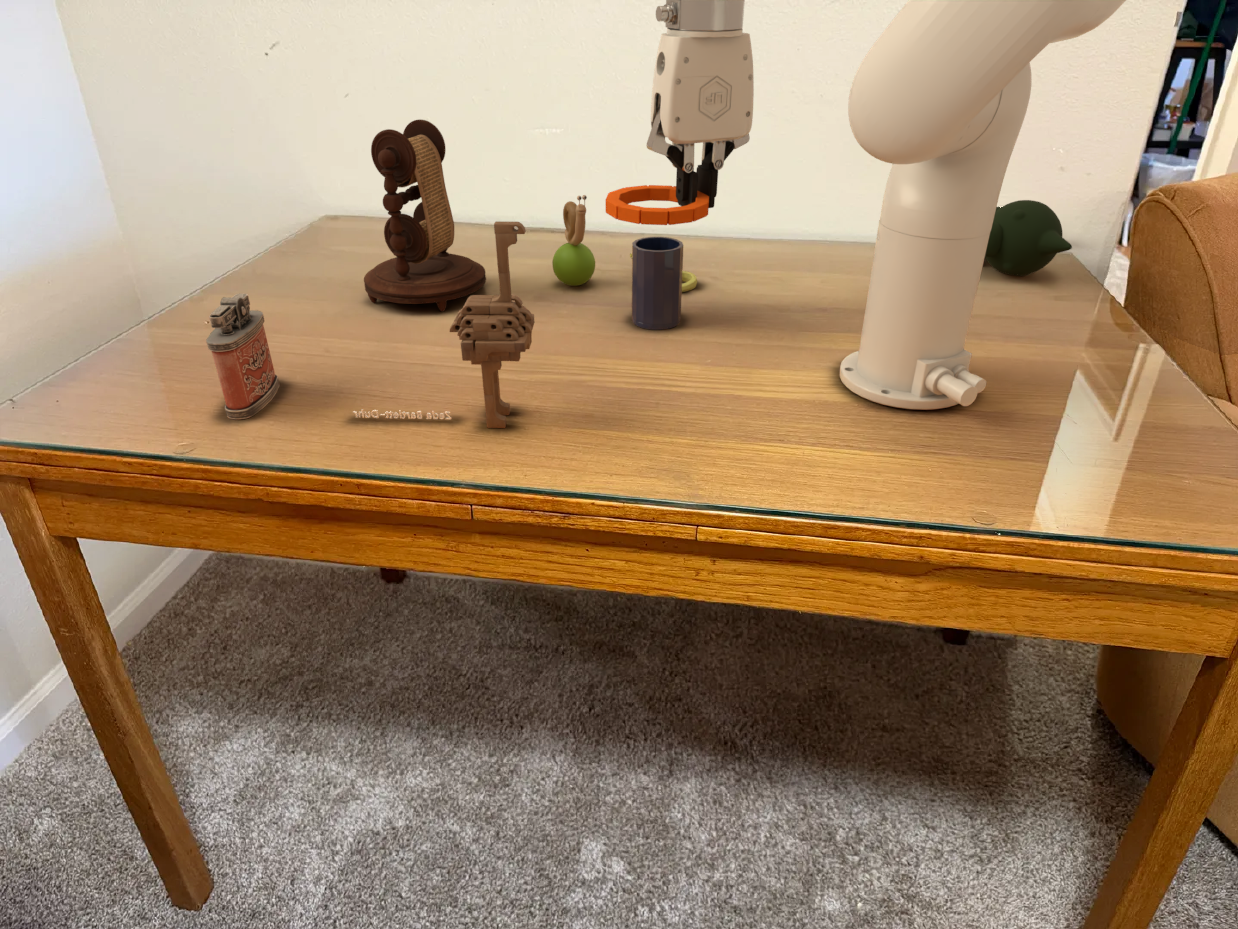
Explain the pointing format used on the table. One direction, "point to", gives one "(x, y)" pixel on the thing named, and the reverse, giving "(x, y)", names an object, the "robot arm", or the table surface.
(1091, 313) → the table surface
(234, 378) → the lighter
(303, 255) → the table surface
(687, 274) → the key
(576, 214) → the snail figurine
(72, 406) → the table surface
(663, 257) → the cup
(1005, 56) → the robot arm
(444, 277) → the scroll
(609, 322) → the table surface
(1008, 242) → the toy figurine
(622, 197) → the ring
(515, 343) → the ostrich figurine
